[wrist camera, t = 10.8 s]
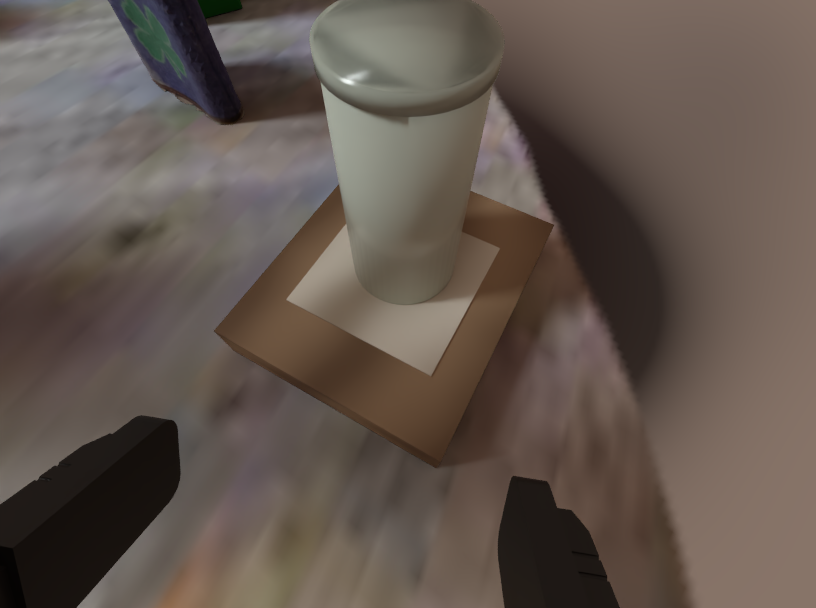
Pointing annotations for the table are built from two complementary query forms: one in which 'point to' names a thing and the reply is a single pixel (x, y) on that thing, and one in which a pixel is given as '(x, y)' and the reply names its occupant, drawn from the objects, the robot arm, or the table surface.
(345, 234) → the pedestal
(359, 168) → the canister
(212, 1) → the milk carton
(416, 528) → the table surface
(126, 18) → the flask
